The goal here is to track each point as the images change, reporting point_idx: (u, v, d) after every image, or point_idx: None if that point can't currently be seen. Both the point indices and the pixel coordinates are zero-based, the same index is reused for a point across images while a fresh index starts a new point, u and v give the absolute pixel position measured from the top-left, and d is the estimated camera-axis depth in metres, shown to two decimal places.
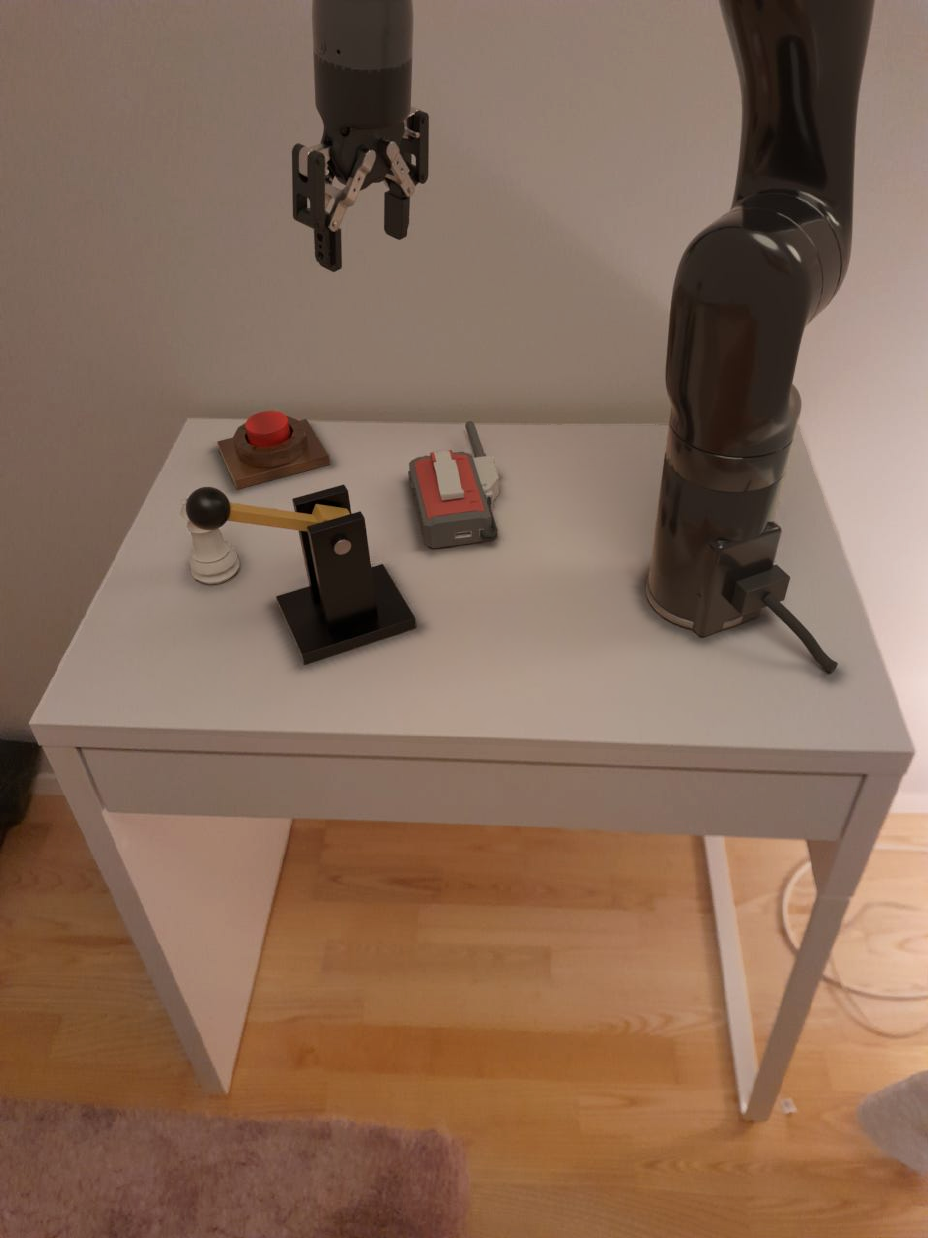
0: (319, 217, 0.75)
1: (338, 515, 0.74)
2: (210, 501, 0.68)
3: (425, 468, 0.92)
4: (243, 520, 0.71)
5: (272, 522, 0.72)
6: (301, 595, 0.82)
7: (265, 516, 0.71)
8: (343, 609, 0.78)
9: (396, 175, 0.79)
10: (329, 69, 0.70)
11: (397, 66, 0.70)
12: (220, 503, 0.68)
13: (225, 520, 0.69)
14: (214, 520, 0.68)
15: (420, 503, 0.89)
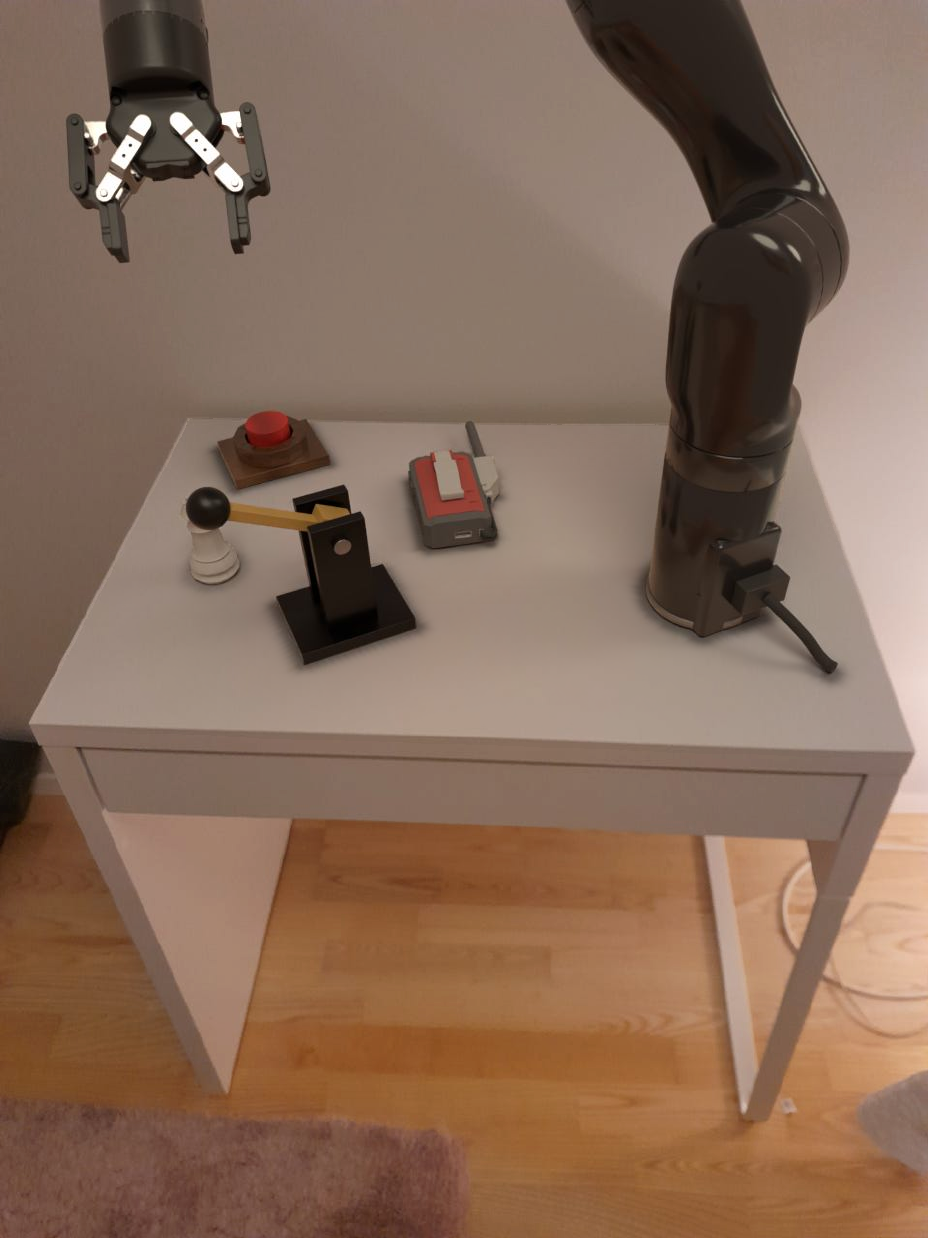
0: (77, 179, 0.68)
1: (338, 515, 0.74)
2: (210, 501, 0.68)
3: (425, 468, 0.92)
4: (243, 520, 0.71)
5: (272, 522, 0.72)
6: (301, 595, 0.82)
7: (265, 516, 0.71)
8: (343, 609, 0.78)
9: (200, 157, 0.69)
10: None
11: (139, 11, 0.66)
12: (220, 503, 0.68)
13: (225, 520, 0.69)
14: (214, 520, 0.68)
15: (420, 503, 0.89)
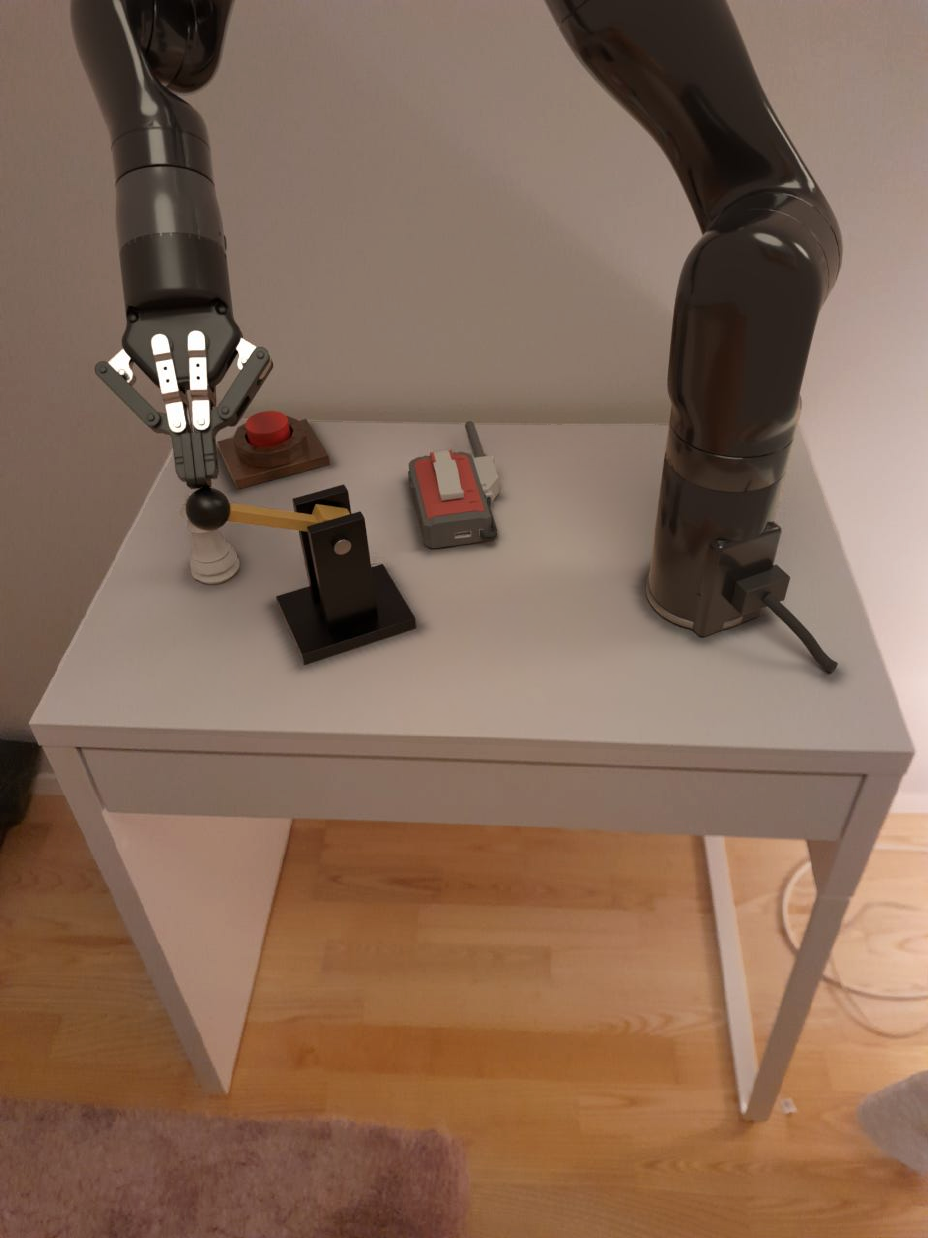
0: (150, 411, 0.67)
1: (338, 515, 0.74)
2: (210, 502, 0.68)
3: (425, 468, 0.92)
4: (243, 520, 0.71)
5: (272, 522, 0.72)
6: (301, 595, 0.82)
7: (265, 517, 0.71)
8: (343, 609, 0.78)
9: (190, 380, 0.67)
10: None
11: (156, 234, 0.65)
12: (220, 503, 0.68)
13: (225, 520, 0.69)
14: (214, 520, 0.68)
15: (420, 503, 0.89)
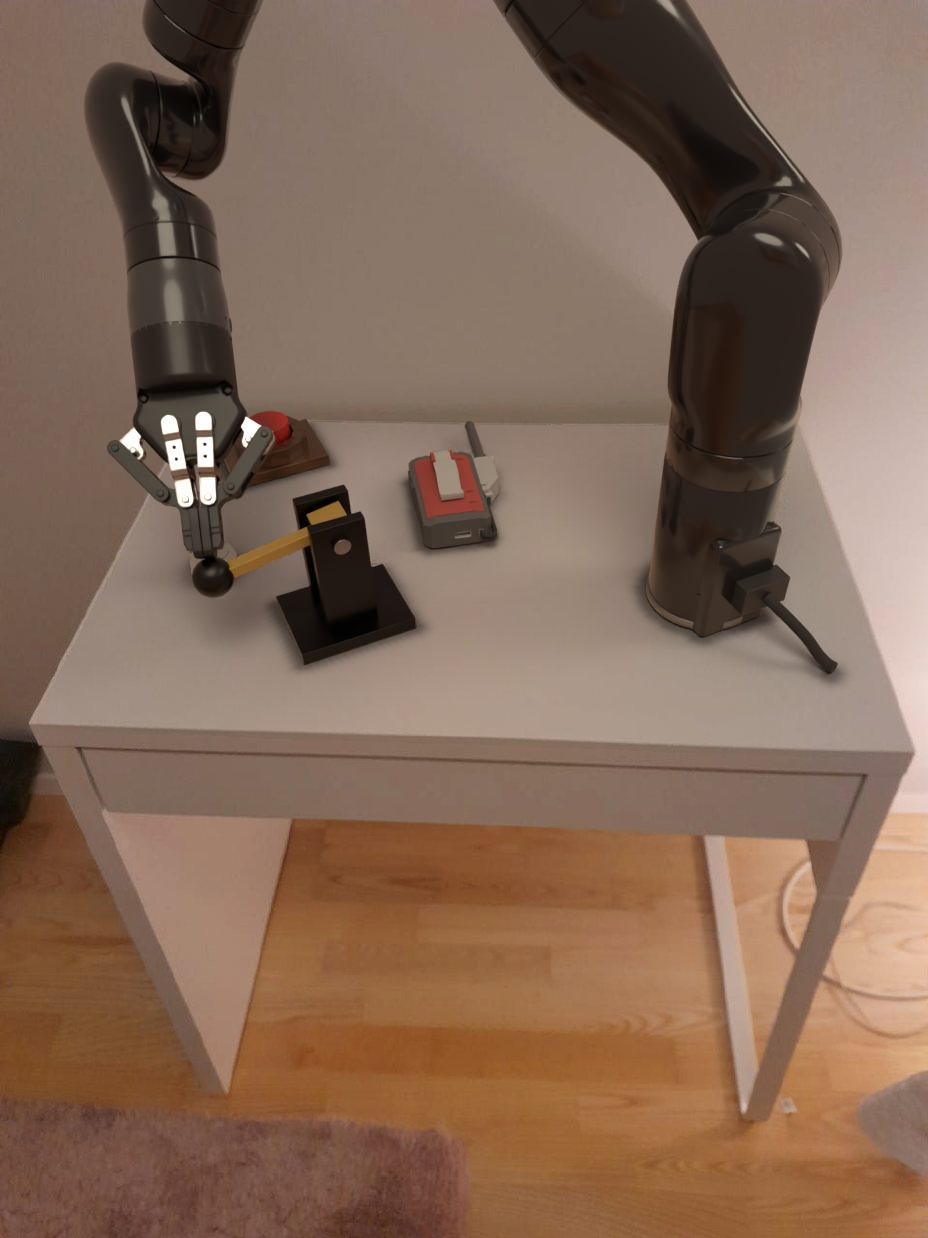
0: (159, 487, 0.71)
1: (329, 515, 0.74)
2: (205, 576, 0.72)
3: (425, 468, 0.92)
4: (247, 570, 0.74)
5: (273, 556, 0.74)
6: (301, 595, 0.82)
7: (264, 556, 0.73)
8: (343, 609, 0.78)
9: None
10: None
11: (166, 322, 0.69)
12: (214, 572, 0.72)
13: (229, 581, 0.73)
14: (219, 588, 0.72)
15: (420, 503, 0.89)
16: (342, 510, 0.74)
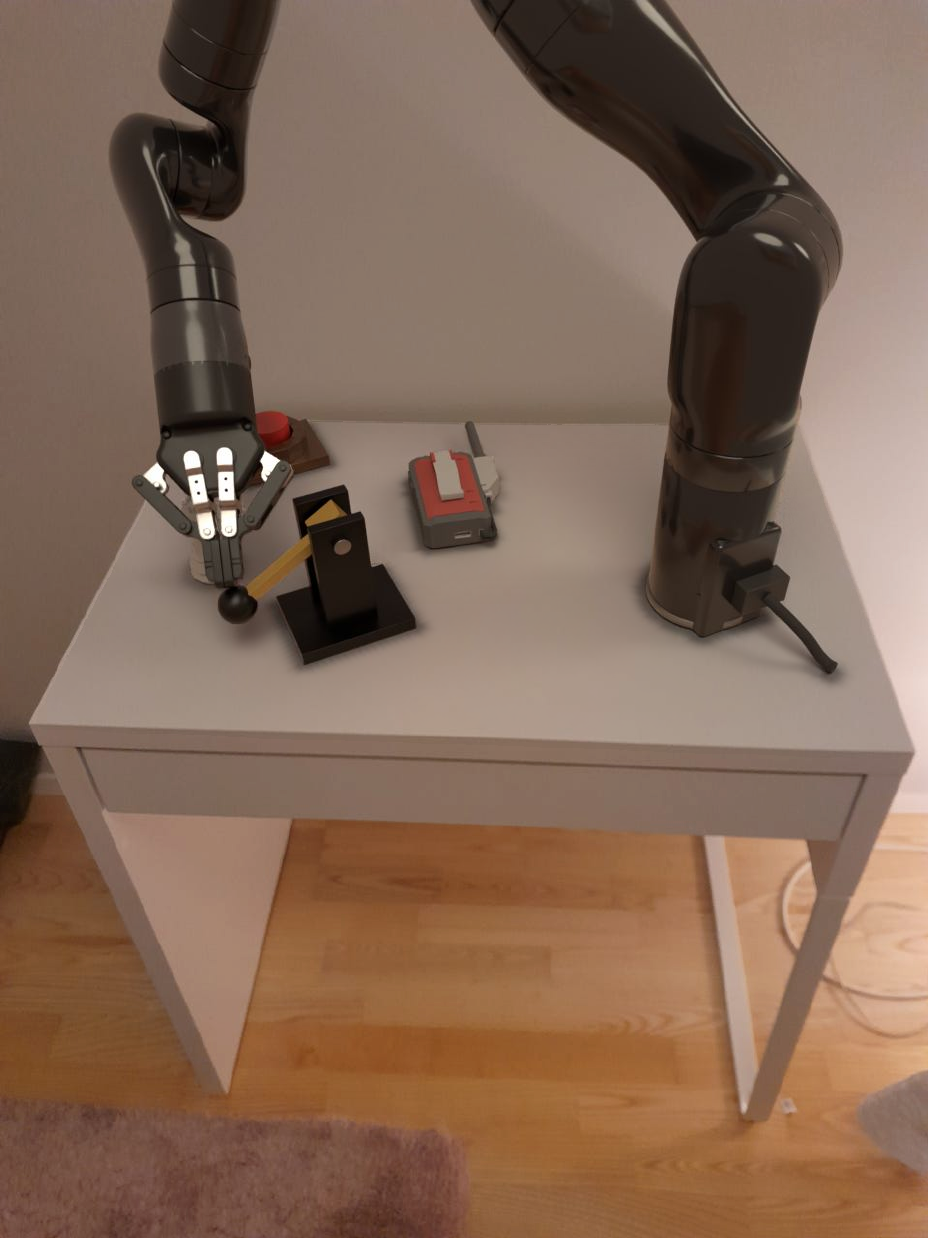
0: (182, 520, 0.73)
1: (324, 518, 0.74)
2: (227, 608, 0.75)
3: (425, 468, 0.92)
4: (266, 590, 0.76)
5: (285, 570, 0.75)
6: (301, 595, 0.82)
7: (276, 573, 0.75)
8: (343, 609, 0.78)
9: (218, 492, 0.73)
10: None
11: (188, 362, 0.71)
12: (234, 602, 0.74)
13: (251, 606, 0.75)
14: (243, 615, 0.75)
15: (420, 503, 0.89)
16: (335, 509, 0.74)
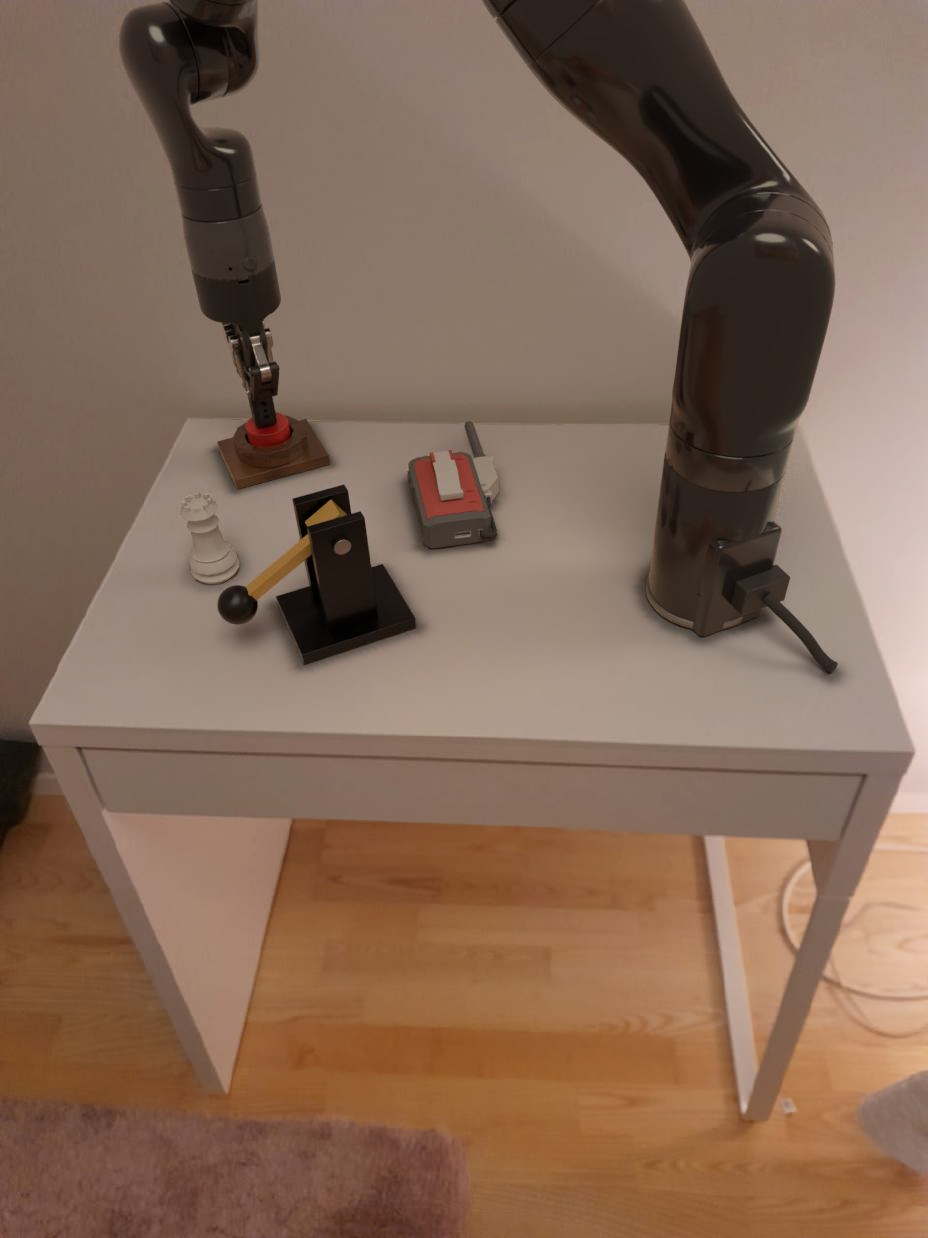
0: None
1: (324, 518, 0.74)
2: (227, 608, 0.75)
3: (424, 468, 0.92)
4: (266, 590, 0.76)
5: (285, 570, 0.75)
6: (301, 595, 0.82)
7: (276, 573, 0.75)
8: (343, 609, 0.78)
9: None
10: None
11: (191, 269, 0.85)
12: (234, 602, 0.74)
13: (251, 606, 0.75)
14: (243, 615, 0.75)
15: (419, 503, 0.89)
16: (335, 509, 0.74)
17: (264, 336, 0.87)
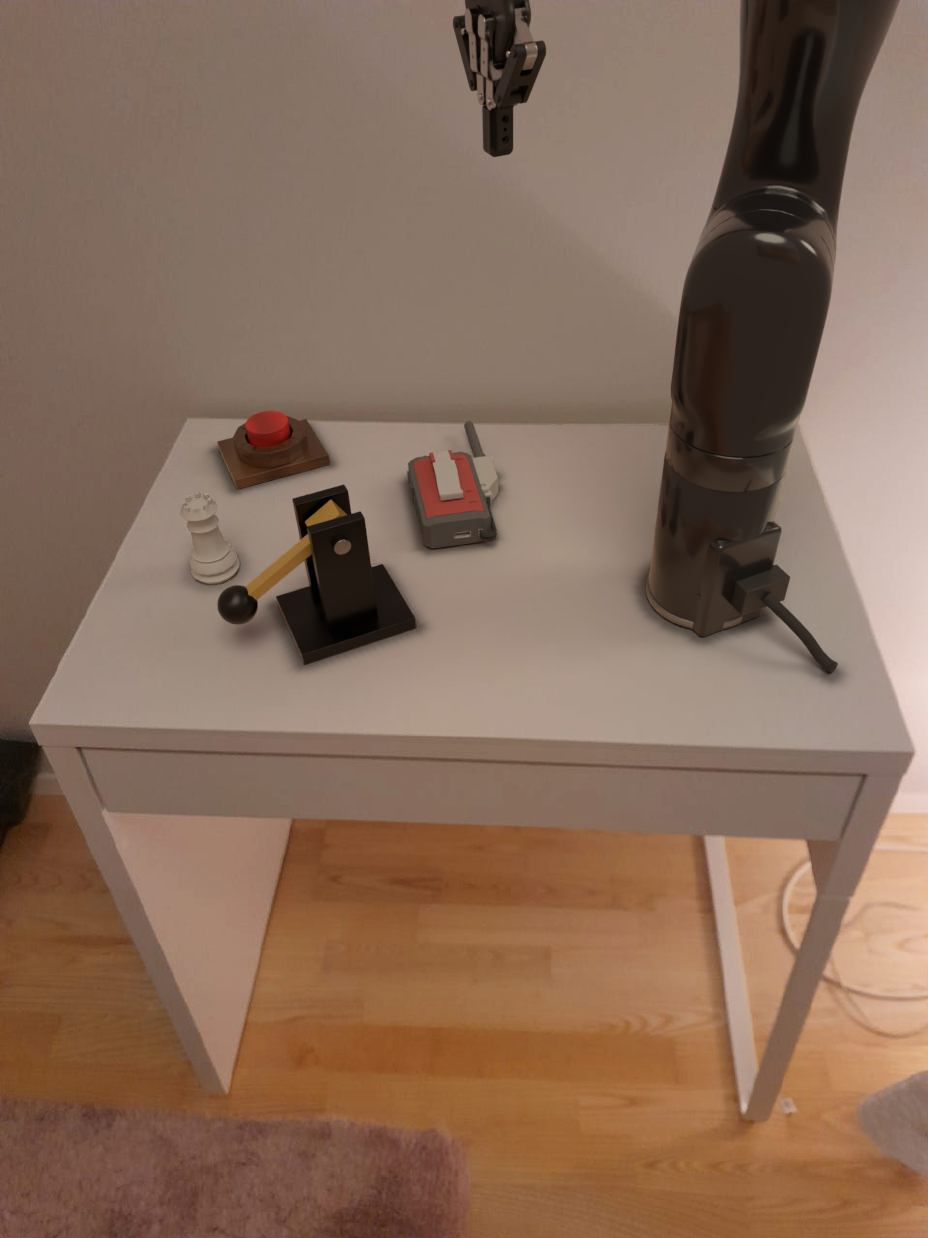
0: (471, 76, 0.79)
1: (324, 518, 0.74)
2: (227, 608, 0.75)
3: (424, 468, 0.92)
4: (266, 590, 0.76)
5: (285, 570, 0.75)
6: (301, 595, 0.82)
7: (276, 573, 0.75)
8: (343, 609, 0.78)
9: None
10: None
11: None
12: (234, 602, 0.74)
13: (251, 606, 0.75)
14: (243, 615, 0.75)
15: (419, 503, 0.89)
16: (335, 509, 0.74)
17: (529, 7, 0.71)
